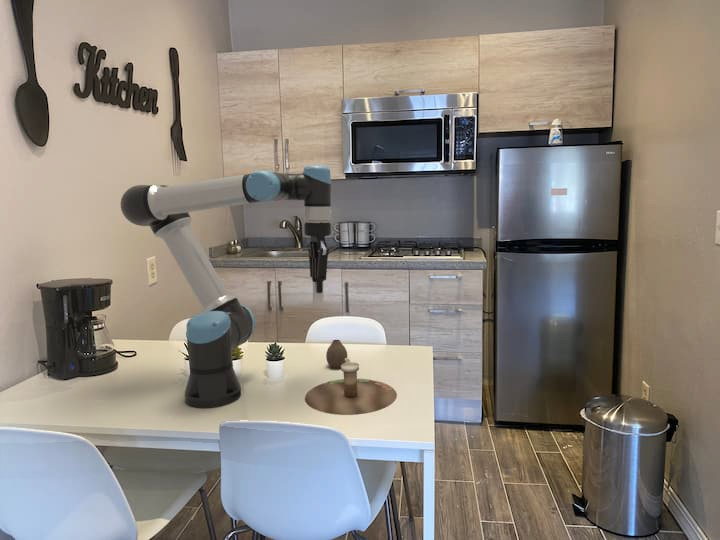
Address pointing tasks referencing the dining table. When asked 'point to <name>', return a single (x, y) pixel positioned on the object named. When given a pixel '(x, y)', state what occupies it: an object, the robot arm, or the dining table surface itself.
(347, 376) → the peg lever
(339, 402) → the brown wooden flat disc
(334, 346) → the vase
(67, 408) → the dining table surface
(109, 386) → the dining table surface
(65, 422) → the dining table surface
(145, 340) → the dining table surface
